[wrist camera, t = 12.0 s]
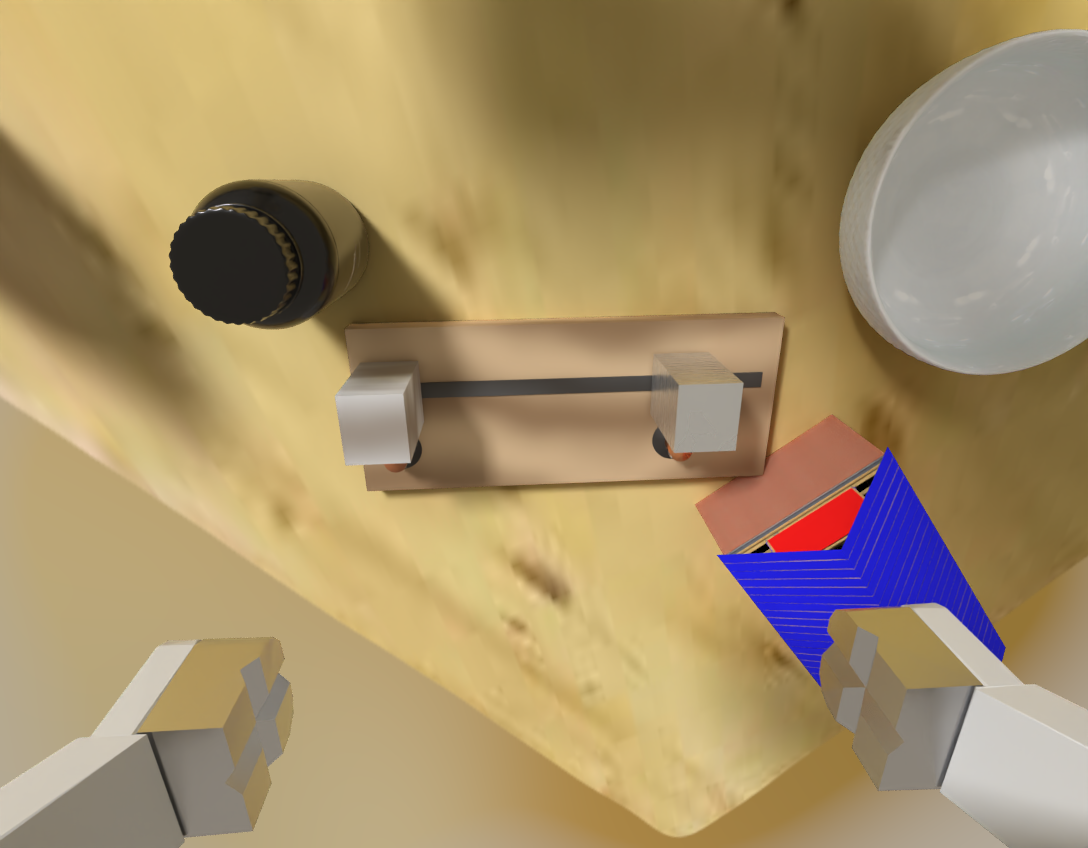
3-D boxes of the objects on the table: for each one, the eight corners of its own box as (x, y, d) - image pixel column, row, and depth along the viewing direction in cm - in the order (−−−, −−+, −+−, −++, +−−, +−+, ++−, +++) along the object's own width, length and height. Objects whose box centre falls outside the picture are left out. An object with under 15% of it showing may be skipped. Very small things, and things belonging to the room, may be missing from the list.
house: (832, 407, 42) (943, 487, 32) (943, 588, 49) (1065, 705, 38) (688, 502, 45) (745, 607, 34) (812, 663, 51) (894, 793, 41)
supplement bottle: (383, 291, 37) (332, 342, 26) (272, 305, 37) (173, 362, 26) (357, 171, 35) (288, 170, 24) (237, 186, 35) (112, 192, 24)
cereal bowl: (1123, 203, 38) (1251, 210, 32) (904, 392, 42) (978, 433, 36) (981, -21, 33) (1098, -69, 26) (748, 218, 37) (800, 228, 31)
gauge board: (350, 323, 38) (314, 359, 31) (774, 312, 39) (835, 344, 32) (371, 480, 42) (344, 544, 35) (754, 465, 44) (804, 523, 36)
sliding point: (653, 354, 38) (678, 384, 33) (709, 352, 38) (743, 382, 33) (648, 451, 41) (670, 495, 35) (699, 449, 41) (730, 493, 35)
